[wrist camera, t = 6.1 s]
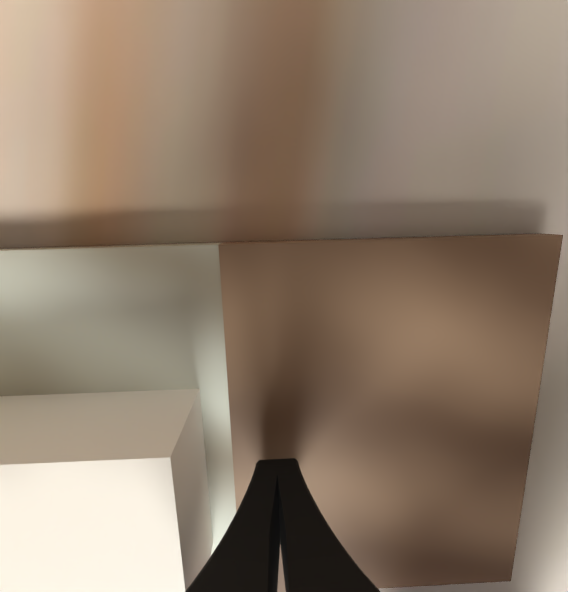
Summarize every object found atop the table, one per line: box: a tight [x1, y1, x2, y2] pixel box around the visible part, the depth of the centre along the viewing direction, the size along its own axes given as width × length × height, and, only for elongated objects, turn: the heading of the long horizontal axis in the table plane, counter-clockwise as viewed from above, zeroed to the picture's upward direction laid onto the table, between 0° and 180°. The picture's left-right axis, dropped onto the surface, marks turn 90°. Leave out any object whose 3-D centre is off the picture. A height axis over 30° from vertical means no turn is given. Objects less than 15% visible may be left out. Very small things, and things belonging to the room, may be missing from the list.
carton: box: [0, 389, 213, 592], centre depth 11 cm, size 6×9×4 cm
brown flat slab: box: [0, 234, 563, 592], centre depth 12 cm, size 14×22×2 cm, turn 91°
